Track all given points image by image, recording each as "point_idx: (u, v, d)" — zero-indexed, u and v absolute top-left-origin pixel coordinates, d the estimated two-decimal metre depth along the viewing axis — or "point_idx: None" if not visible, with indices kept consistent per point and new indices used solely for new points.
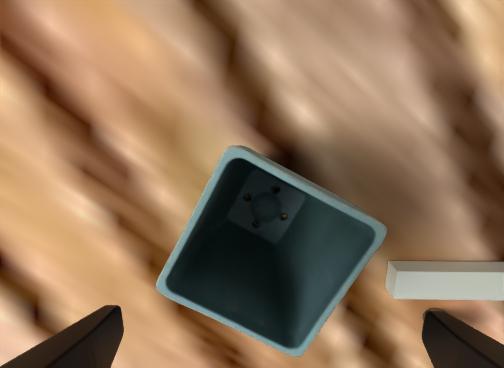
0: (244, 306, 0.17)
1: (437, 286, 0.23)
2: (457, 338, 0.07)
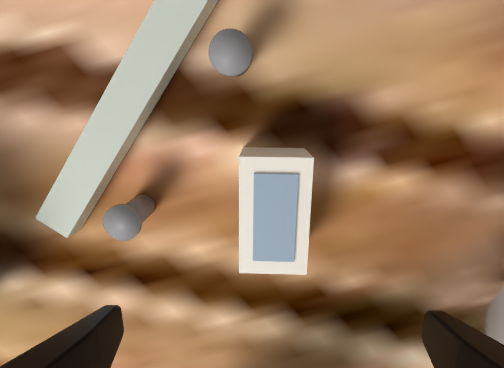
0: None
1: (73, 191, 0.19)
2: (457, 338, 0.07)
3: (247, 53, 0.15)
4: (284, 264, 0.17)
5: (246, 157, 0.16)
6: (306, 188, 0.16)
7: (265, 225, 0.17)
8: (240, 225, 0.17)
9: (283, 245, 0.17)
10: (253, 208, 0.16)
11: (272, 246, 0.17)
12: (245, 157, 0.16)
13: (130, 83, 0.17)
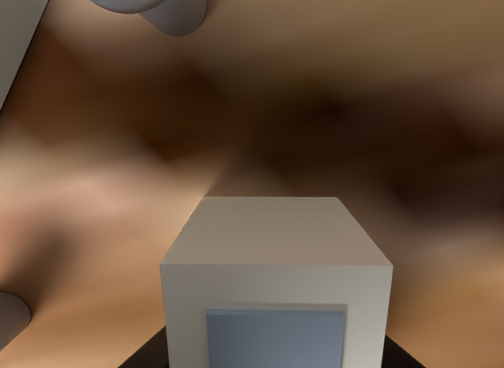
0: None
1: None
2: None
3: None
4: None
5: (183, 264, 0.05)
6: (366, 349, 0.05)
7: None
8: None
9: None
10: None
11: None
12: (179, 265, 0.05)
13: None
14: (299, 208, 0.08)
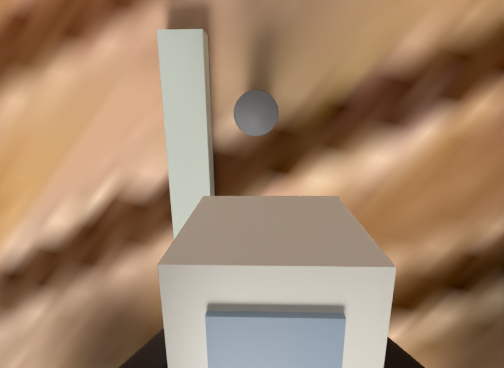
0: None
1: None
2: None
3: (271, 103, 0.14)
4: None
5: (181, 265, 0.05)
6: (368, 351, 0.05)
7: None
8: None
9: None
10: None
11: None
12: (178, 266, 0.05)
13: (187, 192, 0.18)
14: (300, 208, 0.08)
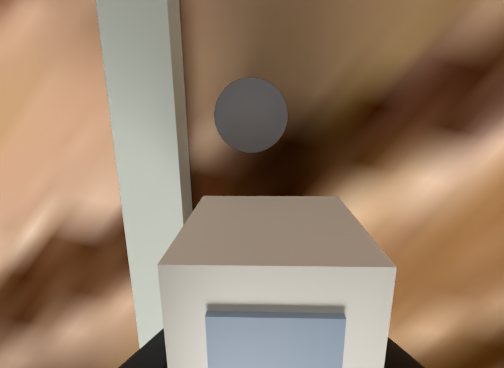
0: None
1: None
2: None
3: (275, 99, 0.09)
4: None
5: (181, 265, 0.05)
6: (368, 352, 0.05)
7: None
8: None
9: None
10: None
11: None
12: (178, 266, 0.05)
13: (150, 232, 0.12)
14: (300, 208, 0.08)
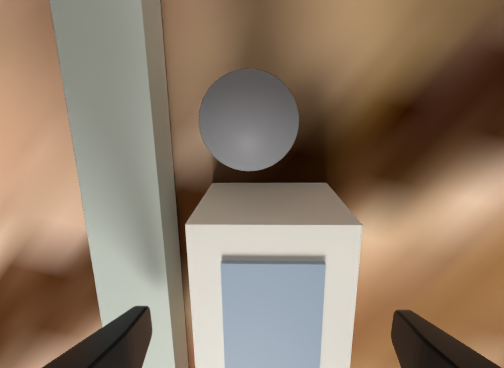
0: None
1: None
2: (419, 337, 0.07)
3: (282, 99, 0.06)
4: None
5: (202, 225, 0.07)
6: (343, 291, 0.07)
7: (252, 365, 0.08)
8: (198, 365, 0.08)
9: None
10: (223, 333, 0.07)
11: None
12: (200, 225, 0.07)
13: (124, 265, 0.10)
14: (293, 189, 0.09)
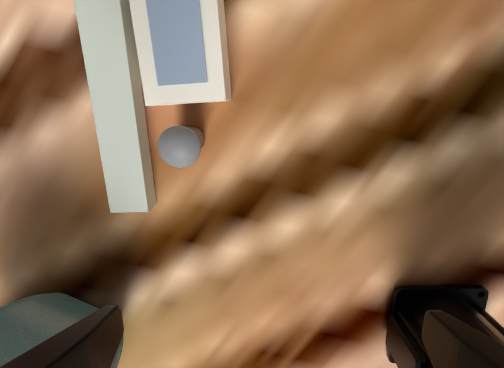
0: None
1: (122, 162, 0.18)
2: (457, 338, 0.07)
3: None
4: (197, 88, 0.14)
5: None
6: None
7: (166, 35, 0.14)
8: (136, 39, 0.14)
9: (191, 60, 0.14)
10: (147, 11, 0.13)
11: (179, 64, 0.14)
12: None
13: (95, 14, 0.16)
14: None
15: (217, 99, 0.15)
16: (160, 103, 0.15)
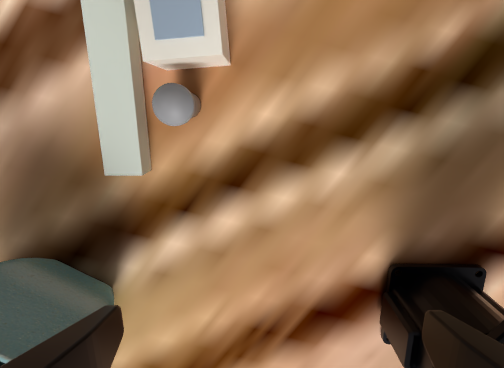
0: None
1: (118, 123, 0.18)
2: (457, 338, 0.07)
3: None
4: (193, 41, 0.14)
5: None
6: None
7: None
8: None
9: (187, 12, 0.14)
10: None
11: (176, 18, 0.14)
12: None
13: None
14: None
15: (214, 53, 0.15)
16: (157, 58, 0.15)
